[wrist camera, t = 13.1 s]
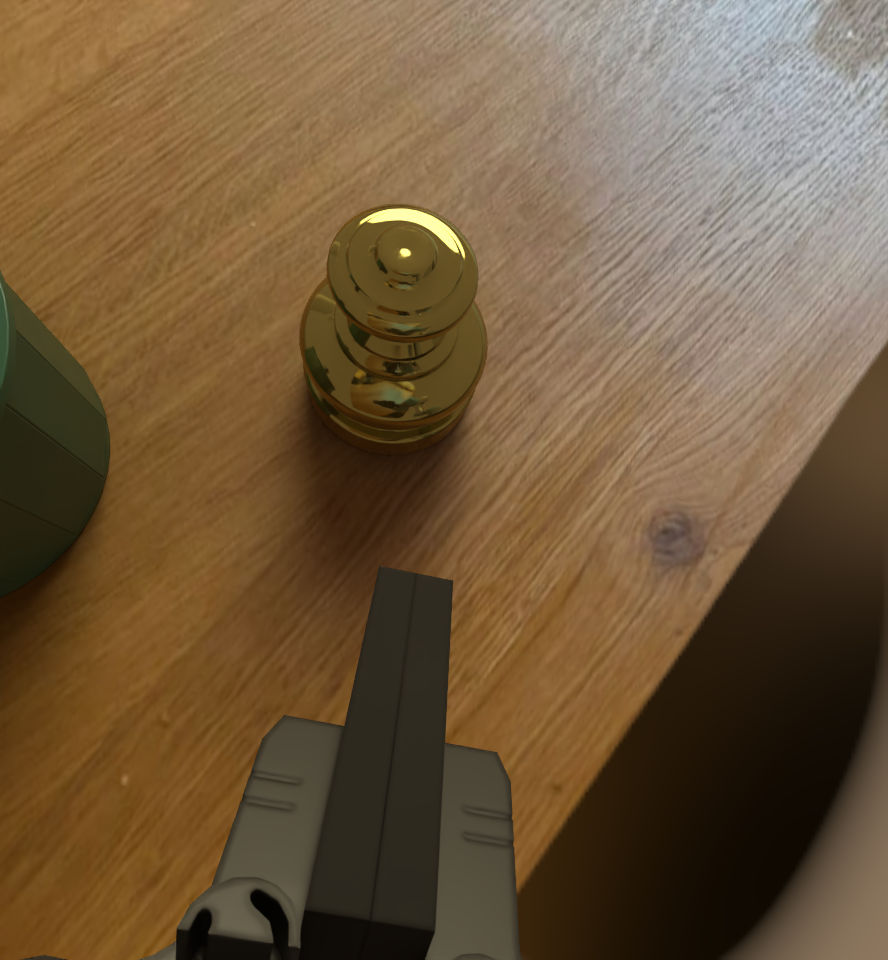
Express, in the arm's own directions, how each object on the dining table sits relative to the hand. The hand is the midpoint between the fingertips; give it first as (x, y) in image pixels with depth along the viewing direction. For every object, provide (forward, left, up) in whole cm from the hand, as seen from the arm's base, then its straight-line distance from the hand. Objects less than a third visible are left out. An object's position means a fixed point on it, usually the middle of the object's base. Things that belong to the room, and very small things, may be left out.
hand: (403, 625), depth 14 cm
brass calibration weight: (+11, +2, -14) cm, 18 cm away
